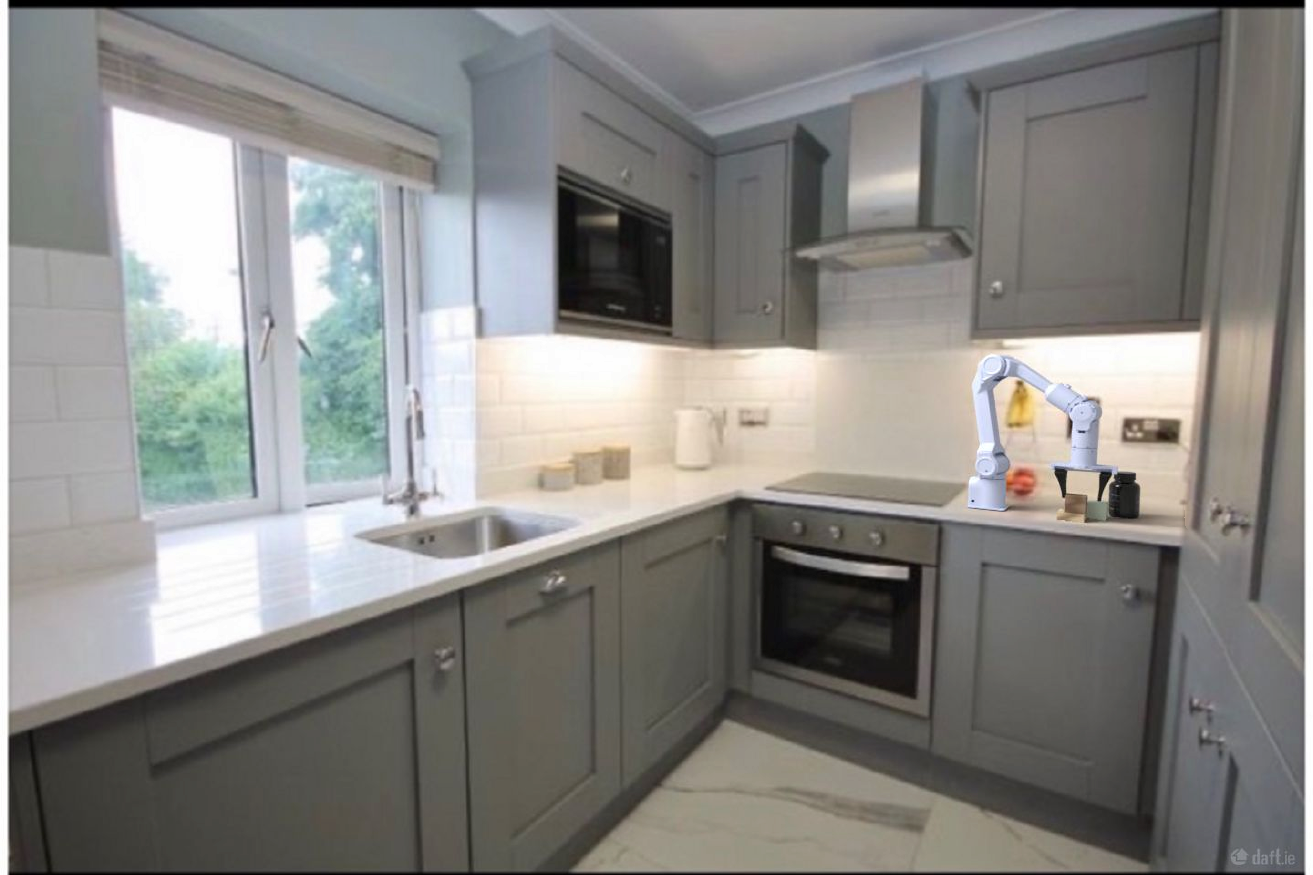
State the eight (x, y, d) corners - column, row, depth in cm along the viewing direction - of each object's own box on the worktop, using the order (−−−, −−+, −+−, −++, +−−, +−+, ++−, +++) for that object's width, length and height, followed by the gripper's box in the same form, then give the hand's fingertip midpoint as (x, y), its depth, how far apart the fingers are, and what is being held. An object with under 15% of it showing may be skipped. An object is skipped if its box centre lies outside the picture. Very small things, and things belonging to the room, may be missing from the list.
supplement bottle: (1125, 513, 173) (1127, 470, 172) (1145, 518, 166) (1148, 474, 165) (1101, 514, 173) (1103, 470, 172) (1120, 519, 166) (1123, 474, 165)
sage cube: (1085, 518, 167) (1086, 502, 167) (1087, 516, 171) (1087, 499, 170) (1105, 521, 164) (1106, 504, 164) (1107, 518, 168) (1108, 501, 167)
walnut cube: (1064, 512, 165) (1065, 495, 165) (1066, 509, 169) (1067, 493, 168) (1085, 514, 162) (1085, 497, 162) (1086, 511, 166) (1087, 494, 165)
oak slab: (1056, 521, 166) (1056, 512, 166) (1059, 517, 170) (1059, 508, 170) (1083, 524, 162) (1084, 515, 162) (1086, 520, 167) (1086, 511, 166)
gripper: (1049, 447, 165) (1046, 498, 166) (1117, 450, 156) (1114, 504, 157) (1053, 445, 170) (1050, 494, 172) (1119, 448, 161) (1116, 500, 162)
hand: (1081, 499), depth 165 cm, fingers open, 7 cm apart
